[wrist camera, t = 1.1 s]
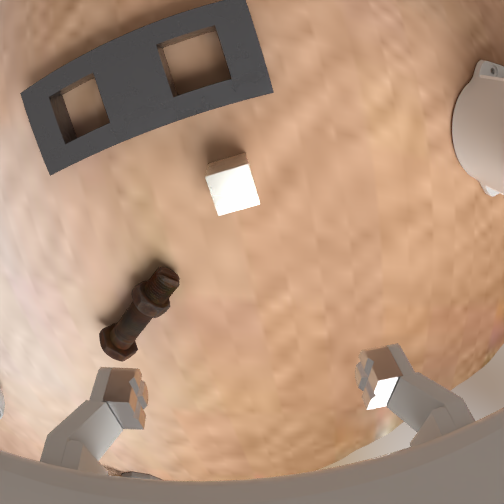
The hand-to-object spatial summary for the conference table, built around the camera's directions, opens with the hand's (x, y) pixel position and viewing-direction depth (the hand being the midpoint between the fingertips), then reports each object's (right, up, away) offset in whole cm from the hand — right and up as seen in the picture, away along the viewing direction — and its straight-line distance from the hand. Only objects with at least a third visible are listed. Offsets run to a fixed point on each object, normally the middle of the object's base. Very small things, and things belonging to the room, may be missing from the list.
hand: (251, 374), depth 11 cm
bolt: (-14, -2, +30) cm, 33 cm away
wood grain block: (-2, +12, +22) cm, 26 cm away
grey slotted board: (-11, +21, +17) cm, 29 cm away
